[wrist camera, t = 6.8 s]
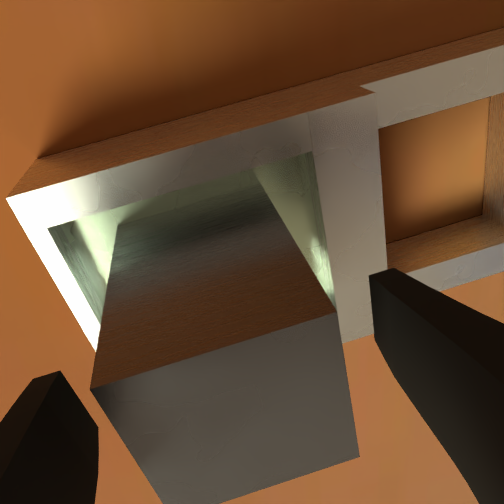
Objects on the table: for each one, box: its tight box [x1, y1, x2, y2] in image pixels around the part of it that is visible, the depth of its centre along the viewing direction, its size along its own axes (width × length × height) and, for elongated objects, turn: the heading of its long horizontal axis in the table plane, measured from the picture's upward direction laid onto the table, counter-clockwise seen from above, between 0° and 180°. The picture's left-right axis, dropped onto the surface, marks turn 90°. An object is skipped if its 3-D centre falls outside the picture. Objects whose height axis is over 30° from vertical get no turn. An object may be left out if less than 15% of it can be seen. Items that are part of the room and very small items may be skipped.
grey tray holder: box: [6, 28, 504, 351], centre depth 14 cm, size 16×8×3 cm, turn 103°
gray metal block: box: [90, 184, 360, 504], centre depth 11 cm, size 4×4×6 cm
